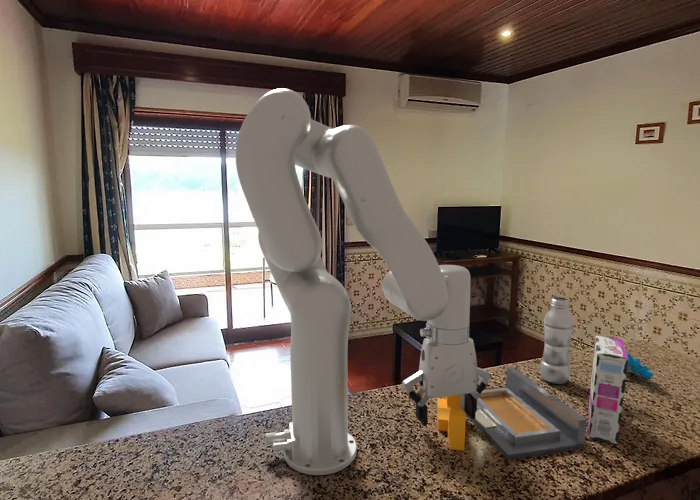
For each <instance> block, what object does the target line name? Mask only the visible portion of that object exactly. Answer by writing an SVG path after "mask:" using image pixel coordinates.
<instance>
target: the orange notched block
mask: <svg viewBox="0 0 700 500" xmlns="http://www.w3.org/2000/svg"><path fill="white" fill-rule="evenodd" d="M436 401H437V402H436V403H437V404H436V405H437V406H436V414H437V415H436V421H437V431H440V432H442V431H443V432H447V440H448V449H449V450H454V451H455V450H456V451H465V445H466V444H465V440H466V421H467V415H466V414H465V411H462V410H461V395H457V396H449V397H445V398H436Z"/></svg>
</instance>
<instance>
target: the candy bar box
mask: <svg viewBox="0 0 700 500" xmlns="http://www.w3.org/2000/svg"><path fill="white" fill-rule="evenodd" d="M594 341H595V344H594V351H593V360H592V371H591V377H590V378H591V380H590V390H589V391H590V392H589V400H588V401H589V402H588V412H587V415H588V419H587V420H588V438H590V439H594V440H598V441H602V442H604V443H609V444H613V445H619V440H620V432H621V423H622V416H623V415H622V414H623V408H624V407H623V406H624V399H625V398H624V397H625V389H626V380H627V373H628V371H627V364H628V356H627V353H626V352H627V350H626V346H625V341H624V340H623V339H621V338H616V337H615V338H614V337H610V336H601V335H595V340H594Z"/></svg>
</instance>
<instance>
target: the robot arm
mask: <svg viewBox="0 0 700 500" xmlns="http://www.w3.org/2000/svg"><path fill="white" fill-rule="evenodd" d="M236 140H237V141H236V146H235V147H236V148H235V166H236V171H237V172H236V173H237V176H238V180H239V184H240V186H241V189H242V192H243V194H244V197H245V200H246V203H247V205H248V207H249V211H250V213H251V215H252V218H253V220H254V224H256V227H257V229H258V230H257V231H258V233H257V234H258V236H257V238H258V245H259V248H260V250H261V251H262V252H261V253H262V255H263V257H264V260H265V262H266V264H267V266H268V268H269V271H270V273H271V275H272V278H273V280H274V282H275V284H276V286H277V288H278V289H277V290H278V291H279V293H280V296H281V297H282V299H283V302H284V304H285V306H286V307H287V309H288V312H289V315H290V322H291V323H290V328H291V329H290V348H289V349H290V352H289V353H290V357H289V359H290V360H289V361H290V382H291V383H290V384H291V387H290V388H291V389H290V391H291V421H292V422H289V423H288V427H289V428H287V429H283V431H279V432H267V433H265V446H266V447H267V446H272V447H273V448H272V449H273V453H274V452H275V453H277V452H282V451H283V457H284V458H283V459H284V460H285V462H286V464H287V465H288V466H289V467H290V468H292V469H293V470H295V471H297V472H298V473H301V474H305V475H308V476H309V475H311V476H325V475H331V474H335V473H337V472H340V471H342V470H344V469H346V468H347V467H349V465H351V464H352V463H353V461H354V460H355V458H356V456H357V454H358V453H357V452H358V451H357V449H358V446H357V441H356V440H355V438H354V437H353V436H352V435H351V433H349V429H348V428H349V427H348V425H349V424H348V423H349V422H348V421H349V414H348V413H349V410H348V408H349V407H348V406H349V405H348V403H349V401H348V396H349V395H348V394H349V393H348V390H349V389H348V386H349V385H348V381H349V380H348V378H349V377H348V370H349V369H348V345H349V344H348V343H349V342H348V341H349V332H350V324H351V317H352V305H351V300H350V297H349V293H348V291H347V290H346V288H345V286H343V284H342V283H341V282H340V281H339V280H338V279H337V278H336V277H334V276H333V275H332V274H330V273H329V271H328V270H327V268H326V266H325V263H324V261H323V258H322V255H321V254H322V249H323V239H322V235H321V231H320V230H319V227H318V226H317V224H316V222H315V219H314V217H313V215H312V212H311V209H310V207H309V205H308V203H307V202H308V201H307V200H306V197H305V195H304V192H303V189H302V186H301V183H300V181H299V177H298V173H297V171H296V169H297V168H296V166H298V167H300V168H301V169H305V170H307V171H309V172H312V173H315V174H318V175H321V176H323V177H326V178H328V179H332V180H333V183H334V185H335V187H336V189H337V191H338V193H339V196H340V198H341V200H342V202H343V205H344V206H345V209H346V211H347V213H348V215H349V217H350V220H351V223H352V225H353V226H354V228H355V229H356V231H357V232H358V233H359V235H360V237H362V239H363V240H364V241H365V242H367V244H369V246H371V248H372V249H374V250H375V252H376V253H378V255H379V256H380V257H381V258H382V260H383V262H384V263H385V264H386V266H387V267H388V269H389V271H388V272H387V273H386V274H385V275H384V277H383V279H382V281H381V289H382V293H383V296H384V297H385V298H386V300H387V301H389V303H391V304H392V305H393V306H395V307H397V308H398V309H399V310H401V311H403V312H405V313H406V314H407V315H409V316H410V317H411V318H413V319H414V320H418V321H422V322H426V323H425V327H424V328H420V330H419V334H420V337H426V338H423V342H422V346H421V352H420V358H419V365H418V371H417V372H416V373H414V374H412V375H410V376H408V377H407V378H405V379H404V380H403V381H402V382H401V385H402V386H403V388H404V390H405V392H406V394H407V395H408V397H409V398H410V399H411V400H413V402H415V418H416V419H417V421H419V423H421V425H422V426H423V427H427V426H428V410H429V408H428V405H427V403H428V401H429V400H430V398H431V399H437V398H438V399H443V398H446V397H449V396H457V395H464V394H465V400H464V411H465V413H466V414H467V415H468V416H469V417H470V418H471V419H475V413H476V412H477V399H479V398H480V394H481V392H482V391H483V390H484V389H487V384H488V382H489V380H490V379H491V373H490V372H488V371H487V370H485V369H484V368H481V367H478V364H477V363H478V361H477V353H476V349H475V348H476V347H475V343H474V339H473V338H471V337H470V316H471V315H470V314H471V313H470V312H471V311H470V308H471V274H470V271H469V269H467V268H466V267H464V266H461V265H456V264H440V265H439V262H438V260H437V258H436V256H435V253H434V252H433V250H432V249H431V247H430V245H429V244H428V242H427V241H426V239H425V238H424V236H423V235H422V234H421V232H420V231H419V229H418V228H417V226H416V225H415V223H414V222H413V221H412V219H411V218H410V216H409V215H408V213H406V211H405V210H404V208H403V205H402V204H401V202H400V199H399V197H398V195H397V193H396V190H395V188H394V185H393V183H392V180H391V178H390V176H389V173H388V172H387V171H388V170H387V169H386V166H385V164H384V162H383V159H382V156H381V155H380V152H379V149H378V147H377V145H376V142H375V141H374V139H373V137H372V135H371V134H370V133H369V131H368V130H366V129H365V128H363V127H362V126H360V125H356V124H344V125H340V126H338V127H335V128H334V127H330V126H327V125H325V124H323V123H320V122H319V121H316V120H314V119H312V116H311V111H310V108H309V105H308V104H307V101H306V100H305V98H303V97H302V95H300V94H299V93H297V92H296V91H294V90H292V89H289V88H276V89H272V90H270V91H268V92H266V93H265V94H263V95H262V96H261V97H260V98H259V99H258V100H257V101H256V102H255V104H254V105H253V106H252V107H251V109H250V110H249V111H248V112H247V115H246V116H245V118H244V120H243V122H242V124H241V127H240V129H239V133H238V136H237V139H236ZM417 384H419V388H418V389H417V390H416V391H415V390H414V386H415V385H417ZM466 414H465V415H466ZM467 415H466V416H467ZM468 416H467V417H468Z"/></svg>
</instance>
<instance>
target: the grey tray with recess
mask: <svg viewBox="0 0 700 500" xmlns="http://www.w3.org/2000/svg"><path fill="white" fill-rule="evenodd" d="M464 400H465V394H464V395H461V411H464ZM465 416H466V417H467V418H468V419H469V420H470V421H471V422H472V423H473V424H474V425H475V426H476V427H477V429H478V430H479V431H480V432H481V433H482V434H483V435H484V436H485V437H486V438H487V440H488V441H490V443H491V444H492V445H493V446H494V447H495V448H496V449H497V451H499V452H500V454H501V455H502V456H503V457H504V458H505V459H506V460H507V461H511V460H519V459H525V458H530V457H532V458H533V457H537V456H543V455H551V454H559V453H564V452H569V451H576V450H582V449H585V444H586V442H585V441H586V431H587V420H588V419H587V418H585V417H584V416H582V415H581V414H579V413H578V412H577V411H576V410H574V409H573V408H571V407H570V406H569V405H567V404H566V403H564V402H563V401H562V400H560V399H559V398H557V397H555V396H554V395H553V394H551V393H550V392H549V391H547V390H546V389H545V388H543V387H542V386H540V385H539V384H538V383H536V382H535V381H533V380H532V379H530V378H529V377H527V376H526V375H524V374H523V373H522V372H520V371H519V370H517V369H516V368H515V367H511V366H510V367H506V381H505V386H501V387H494V388H493V387H492V388H485V389H484V390H483V391H482V392H481V394H480V398H479V399H477V412H476V413H475V419H471V418H470V417H469V416H468V415H467V414H466V413H465Z"/></svg>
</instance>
